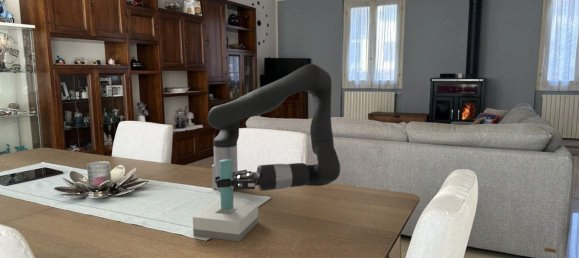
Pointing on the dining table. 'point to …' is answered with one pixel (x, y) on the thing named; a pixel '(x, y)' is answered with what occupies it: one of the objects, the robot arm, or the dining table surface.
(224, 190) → the pin
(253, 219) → the block
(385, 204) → the dining table surface
